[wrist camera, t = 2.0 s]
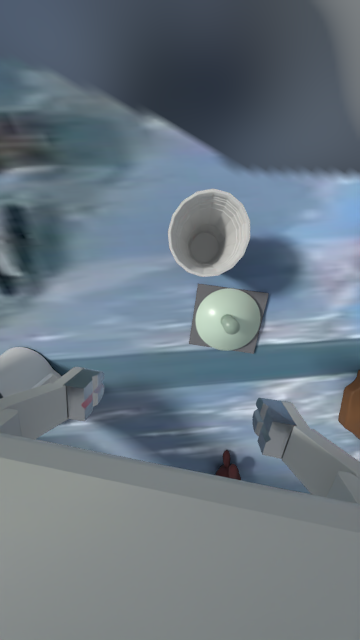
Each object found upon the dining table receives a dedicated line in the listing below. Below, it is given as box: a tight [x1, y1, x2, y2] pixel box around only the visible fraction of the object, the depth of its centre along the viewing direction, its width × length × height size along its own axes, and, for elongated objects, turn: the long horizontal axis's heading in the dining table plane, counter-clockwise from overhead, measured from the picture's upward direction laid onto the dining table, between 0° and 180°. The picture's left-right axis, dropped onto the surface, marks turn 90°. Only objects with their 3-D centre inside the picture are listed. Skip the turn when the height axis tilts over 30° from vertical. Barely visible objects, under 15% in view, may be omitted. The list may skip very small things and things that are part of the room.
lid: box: [195, 288, 261, 350], centre depth 35 cm, size 13×13×5 cm
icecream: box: [216, 450, 241, 480], centre depth 45 cm, size 7×7×15 cm
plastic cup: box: [168, 189, 250, 277], centre depth 29 cm, size 11×11×12 cm
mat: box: [189, 284, 269, 354], centre depth 38 cm, size 13×14×1 cm
